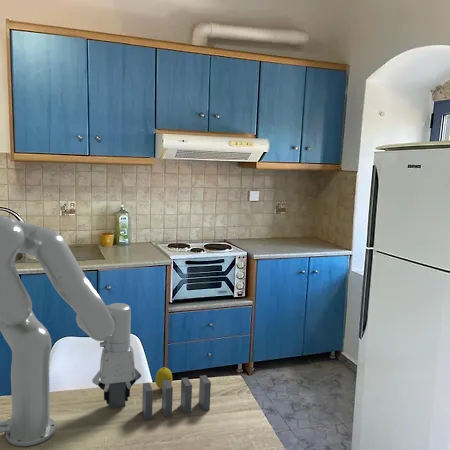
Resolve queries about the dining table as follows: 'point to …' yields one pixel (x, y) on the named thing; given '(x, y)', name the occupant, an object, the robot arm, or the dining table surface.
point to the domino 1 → (117, 395)
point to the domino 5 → (204, 392)
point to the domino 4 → (186, 395)
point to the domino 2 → (147, 401)
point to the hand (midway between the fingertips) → (116, 399)
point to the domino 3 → (167, 397)
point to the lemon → (163, 376)
